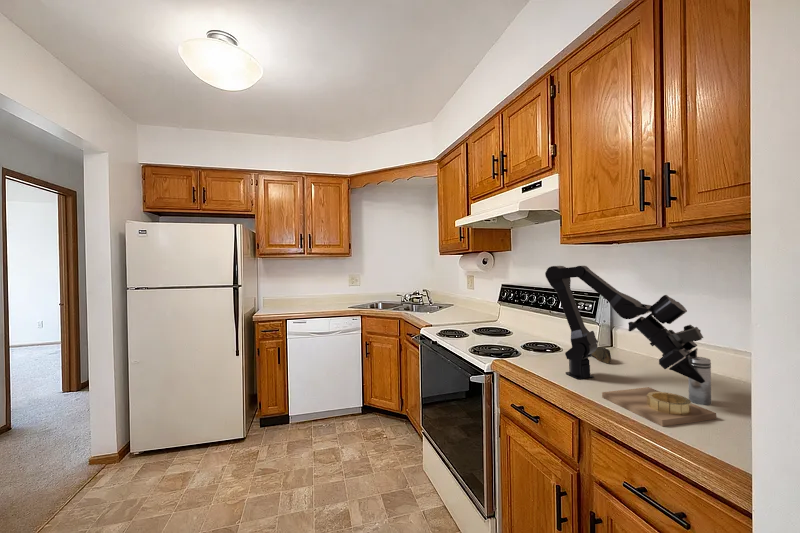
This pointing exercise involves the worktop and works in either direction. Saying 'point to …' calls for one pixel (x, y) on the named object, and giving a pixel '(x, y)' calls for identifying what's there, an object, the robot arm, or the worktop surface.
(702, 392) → the piston
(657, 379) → the worktop surface
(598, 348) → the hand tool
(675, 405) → the brass ring collar
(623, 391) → the walnut board
